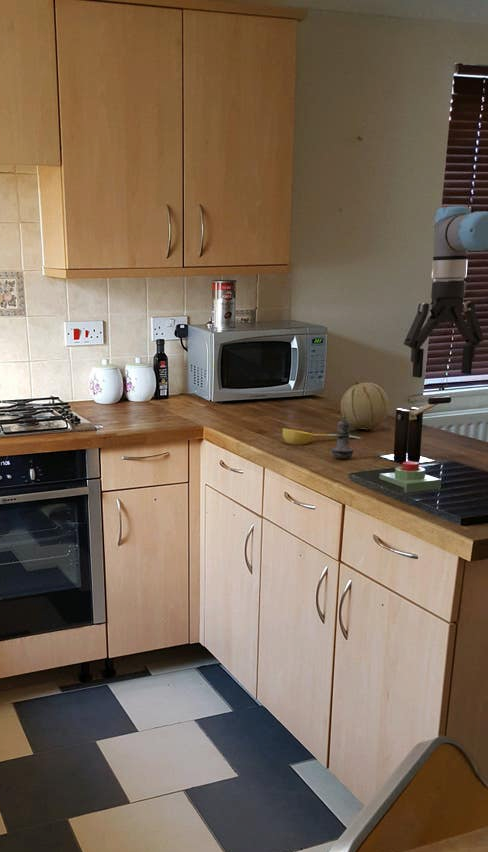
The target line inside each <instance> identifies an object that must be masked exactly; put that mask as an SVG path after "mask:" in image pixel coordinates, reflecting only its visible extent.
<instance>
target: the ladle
mask: <svg viewBox="0 0 488 852" xmlns="http://www.w3.org/2000/svg"><path fill="white" fill-rule="evenodd" d="M336 434H337V433H336ZM336 434H335V433H330V434H329V433H327V434H326V433H325V434H324V433H321V434H320V433H315V434H314V433H311V432H306V431H301V430H297V429H291V428H290V429H289V428H284V427H283V428H282V437H283V440H284V441H285V442H286V443H287V444H288V445H290V446H291V445H292V446H302V445H303V446H304V445H307V444H309V443H310V442H311V440H312V438H313V437H337V435H336ZM349 439H354V440H359V439H361V437H359V436H355V435H350V436H349Z"/></svg>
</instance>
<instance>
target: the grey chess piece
mask: <svg viewBox="0 0 488 852" xmlns="http://www.w3.org/2000/svg"><path fill="white" fill-rule="evenodd" d="M336 435H337V436H336V437H337V438H336V445H335V446H334V447H332V448H331V449H330V450H331V451H332V456H333V457H334V458H335V459H337V460H340V461H341V460H343V461H344V460H345V461H346V460H348V459H350V458H352V456H353V454H354V451H355V448H353V447H351V446H350V438H349V436H351V433H350V426H349V422H348V421H347V420H345V417H343V416H342V419H341V420H339V421H338V423H337V433H336Z"/></svg>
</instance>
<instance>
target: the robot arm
mask: <svg viewBox="0 0 488 852" xmlns="http://www.w3.org/2000/svg"><path fill="white" fill-rule="evenodd" d="M435 213H436V214H435V221H434V225H433V229H434V230H433V231H434V232H433V249H432V250H433V252H432V266H431V268H432V269H431V279H432V280H433V281H432V282H431V283H430V295H429V297H430V299H431V300H430V304H429V303H427V302H421V303H418V306H417V312H416V315H415V317H414V319H413V322H412V324H411V325H410V328H409V330H408V332H407V335H406V337H405V339H404V341H403V344H404V346H407V347H408V348H409V349H410V350H411V352H410V363H412V374H411V375H412V377H413V378H423V370H424V369H423V368H424V367H423V366H424V351H425V349H424V348H421V347H422V346H423V345H424V343H425V342H426V341H427V339H428V338H429V336H431V333H433V331H434V329H435V328H436V327H437V326H438V325H439V324H446V323H452V324H453V325H454V326H455V328H456V329H457V331H458V332H459V334H460V335H461V337H462V339H463V340H464V342H465V343H466V344H463V346H462V358H461V370H460V371H461V372H460V374H464V375H472V367H473V360H474V359H475V357H476V347H477V346H479V345H480V343H481V342H484V340H485V338H484V334H483V332H482V331H483V330H482V328H481V325H480V322H479V319H478V316H477V313H476V303H475V301H471V300H469V301H468V300H467V301H464V297H465V296H466V283H467V282H466V281H465V280H464V279H466V278H467V274H468V273H467V272H468V256H469V252H476V251H488V211H485V210H484V211H478V210H477V211H473V212H472V210H471V208H470V207H469V206H468V205H454V206H443V207H440V208H438V210H437V211H436V212H435ZM462 312H463V313H464V315H463V314H462ZM429 313H430V315H429ZM428 315H429V317H428ZM465 320H466V321H465Z"/></svg>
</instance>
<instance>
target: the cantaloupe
mask: <svg viewBox="0 0 488 852" xmlns="http://www.w3.org/2000/svg"><path fill="white" fill-rule="evenodd" d="M354 384H355V385H352V386H351V387H349V388H348V389H347V390H346V391H345V393H343V396H342V398H341V401H340V413H341V417H342V418H343V417H345V420H347V421H348V422H349V427H351V428H352V427H354V428H353V429H355V428H366V429H369V428H372V429H374V428H375V427H378V426H379V425H381V424H382V423H383V422H384V421H385V420H386V418H387V417H388V415H389V412H390V401H389V397H388V396H387V393H386V392H385V390H384V389H383V388H382V387H381V386H379V385H378V384H375V383H374V382H360V381H359V380H356V381H354Z"/></svg>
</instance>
